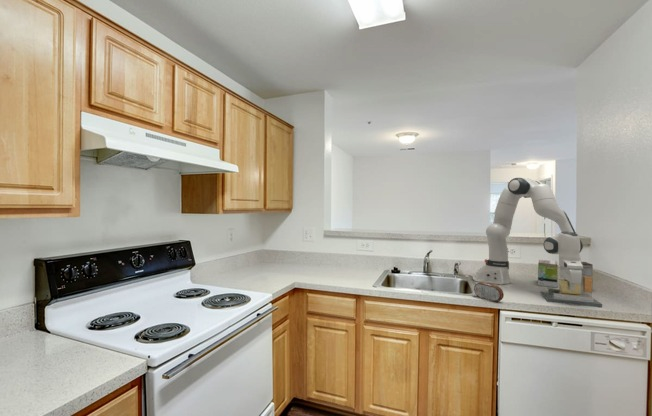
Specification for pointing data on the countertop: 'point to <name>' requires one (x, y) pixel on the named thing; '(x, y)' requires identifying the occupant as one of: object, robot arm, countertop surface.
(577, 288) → the brass block
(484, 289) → the tin
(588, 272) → the coffee box
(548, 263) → the tea box
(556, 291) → the sliding jaw
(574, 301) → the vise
